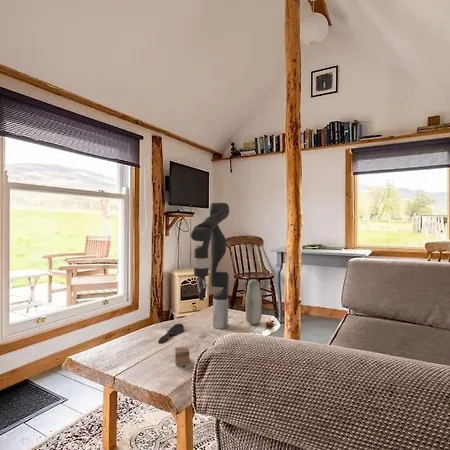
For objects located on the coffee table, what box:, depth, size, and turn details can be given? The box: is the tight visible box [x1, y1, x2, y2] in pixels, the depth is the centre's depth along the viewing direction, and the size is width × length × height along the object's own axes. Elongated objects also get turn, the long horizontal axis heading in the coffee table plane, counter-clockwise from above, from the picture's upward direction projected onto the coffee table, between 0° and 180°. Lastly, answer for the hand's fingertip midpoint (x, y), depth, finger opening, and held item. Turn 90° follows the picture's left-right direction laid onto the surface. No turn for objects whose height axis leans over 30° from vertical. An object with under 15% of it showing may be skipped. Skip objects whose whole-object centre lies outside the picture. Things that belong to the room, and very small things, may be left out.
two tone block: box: [174, 345, 190, 367], centre depth 145 cm, size 6×6×6 cm
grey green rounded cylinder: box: [244, 278, 263, 326], centre depth 199 cm, size 10×10×28 cm
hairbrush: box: [157, 323, 185, 345], centre depth 178 cm, size 8×4×25 cm
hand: (201, 299), depth 163 cm, fingers closed
